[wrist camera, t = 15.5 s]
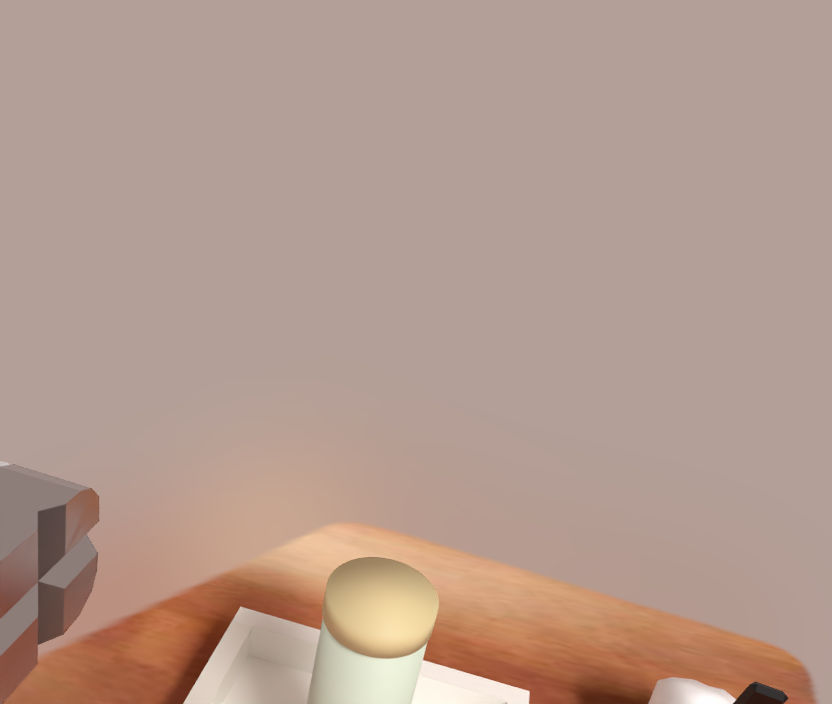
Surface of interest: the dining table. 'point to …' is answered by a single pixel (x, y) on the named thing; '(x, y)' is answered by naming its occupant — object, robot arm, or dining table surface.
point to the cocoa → (711, 693)
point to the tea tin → (372, 633)
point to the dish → (293, 665)
